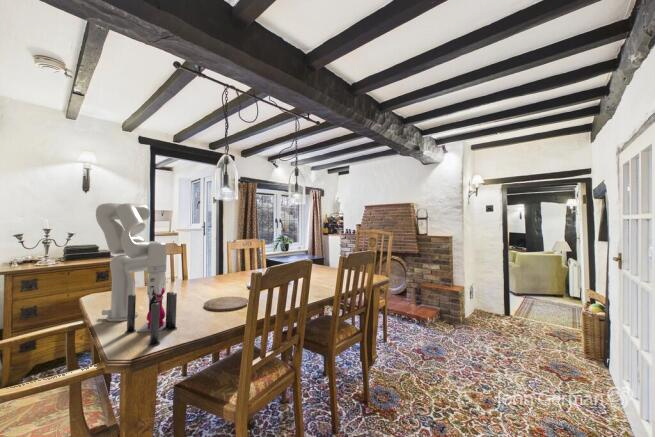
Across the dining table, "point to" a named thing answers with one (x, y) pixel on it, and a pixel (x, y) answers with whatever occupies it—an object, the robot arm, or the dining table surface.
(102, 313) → the robot arm
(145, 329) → the slate coaster
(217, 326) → the dining table surface
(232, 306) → the trivet
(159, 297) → the pepper mill
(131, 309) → the gate course
